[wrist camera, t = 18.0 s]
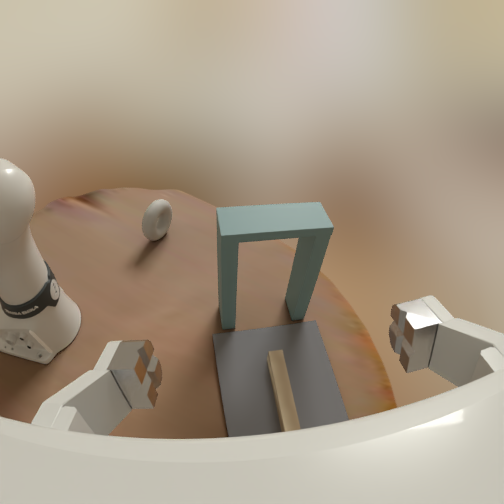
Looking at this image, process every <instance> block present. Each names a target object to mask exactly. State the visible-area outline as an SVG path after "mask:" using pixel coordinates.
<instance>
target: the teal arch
mask: <svg viewBox="0 0 504 504" xmlns="http://www.w3.org/2000/svg"><path fill="white" fill-rule="evenodd" d="M333 229H334V227H333V225H332V223H331V221H330V219H329V217H328V216H327V214H326V212H325V210H324V208H323V207H322V205H321V203H320V202H310V203H289V204H270V205H253V206H237V207H223V208H217V259H218V295H219V310H220V317H221V323H222V329H223V330H224V329H233V328H235V318H236V292H237V267H238V244H239V242H251V241H263V240H275V239H287V238H299V239H298V244H297V248H296V253H295V257H294V262H293V266H292V271H291V275H290V279H289V284H288V288H287V292H286V296H285V300H286V303H287V306H288V309H289V313H290V316H291V319H292V321H294V320H301V319H304V316H305V313H306V311H307V308H308V305H309V302H310V299H311V296H312V293H313V290H314V287H315V284H316V281H317V278H318V275H319V271H320V268H321V265H322V262H323V259H324V255H325V252H326V249H327V246H328V243H329V239H330V236H331V235H332V232H333Z"/></svg>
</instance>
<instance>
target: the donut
mask: <svg viewBox="0 0 504 504" xmlns="http://www.w3.org/2000/svg"><path fill="white" fill-rule="evenodd" d="M171 220H172V209H171V206H170V204H169V203H168V202H167V201H165V200H163V199H160V200H156V201H154V202H153V203H151V204H150V206H149V207H148V208H147V210H146V212H145V214H144V217H143V221H142V230H143V233H144V235H145V237H146V238H147V239H149V240H153V241H155V240H158V239H160V238H162V237H163V236H164V235H165V233H166V232H167V230H168V228H169V226H170V223H171Z"/></svg>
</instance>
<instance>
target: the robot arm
mask: <svg viewBox="0 0 504 504" xmlns="http://www.w3.org/2000/svg"><path fill="white" fill-rule="evenodd" d="M34 208H35V190H34V186H33V184H32V181H31V179H30V178H29V177H28V176H27V174H26V173H24V172H23V171H22V170H21V169H19V168H18V167H17V166H15V165H14V164H13V163H11V162H9V161H8V160H5V159H1V158H0V351H1V352H4V353H7V354H10V355H14V356H17V357H21V358H24V359H28V360H31V361H35V362H39V363H43V364H48V363H49V362H50V361H51V360H52V359H53V358H54V356H55V355H56V354H57V353H58V352H59V351H61V350H62V349H64V348H65V347H67V346H68V345H69V344H70V343H71V342H72V341H73V339H74V338H75V336H76V335H77V333H78V330H79V328H80V323H81V314H80V310H79V308H78V306H77V305H76V303H75V302H74V301H72V300H71V299H70V298H69V297H68V296H67V295H66V294H65V293H64V291H63V290H62V288H61V287H59V285H58V283H57V281H56V278H55V276H54V274H53V273H52V271H51V269H50V267H49V266H48V264H47V263H46V262H45V261H44V260H43V259H42V257H41V255H40V253H39V250H38V248H37V246H36V244H35V242H34V240H33V237H32V235H31V231H30V226H29V223H30V221H31V218H32V216H33V212H34ZM391 317H392V318H393V320H394V321H393V322H392V324H391V325H390V328H389V337H390V343H391V346H392V348H393V350H394V352H396V353H398V354H400V360H399V361H400V362H401V364H402V366H403V368H404V369H405V371H406V373H409V372H413V371H417V370H420V369H424V368H427V367H429V369H430V370H432V371H434V372H435V373H437V374H438V375H440V376H442V377H443V378H445V379H447V380H448V381H450V382H451V383H453V384H455V385H456V386H458V388H455V389H453V390H450V391H447V392H445V393H442V394H439V395H436V396H433V397H430V398H427V399H424V400H422V401H419V402H415V403H412V404H409V405H406V406H402V407H399V408H395V409H392V410H388V411H385V412H381V413H377V414H373V415H369V416H365V417H361V418H357V419H353V420H348V421H343V422H339V423H334V424H329V425H323V426H318V427H312V428H306V429H300V430H293V431H286V432H279V433H271V434H262V435H252V436H240V437H226V438H206V439H149V438H130V437H117V436H108V435H109V434H110V432H111V431H112V430H113V429H114V428H115V427H116V426H117V425H118V424H119V423H120V422H121V421H122V420H123V419H124V418H125V417H126V416H127V415H128V413H129V412H130V411H131V410H132V409H150V408H154V407H155V403H156V400H157V396H158V393H157V391H156V389H157V388H158V387H159V386H160V385H161V381H162V369H161V365H160V362H159V360H158V359H157V358H156V357H155V356H154V355H152V354H153V352H154V348H153V345H152V343H151V341H149V340H129V341H111V342H108V344H107V345H106V347H105V349H104V351H103V353H102V355H101V356H100V358H99V360H98V362H97V364H96V366H95V368H94V370H89V371H88V372H86V373H85V374H83V375H82V376H80V377H79V378H78V379H76V380H75V381H73V382H72V383H70V384H69V385H67V386H66V387H65V388H63V389H62V390H60V391H59V392H57V393H56V394H54V395H53V396H51V397H50V398H49V399H47V400H46V401H44V402H43V403H42V405H41V407H40V408H39V410H38V412H37V414H36V416H35V417H34V419H33V421H32V423H31V424H29V423H25V422H20V421H16V420H12V419H8V418H4V417H0V504H504V334H503V333H500V332H497V331H494V330H491V329H488V328H486V327H483V326H480V325H477V324H474V323H471V322H468V321H466V320H463V319H460V318H456V319H455V318H453V316H452V315H451V314H450V313H449V312H448V311H447V310H446V309H445V308H444V307H443V305H441V303H440V302H439V301H438V300H437V299H436V298H435V297H434V296H432V295H430V296H426V297H422V298H419V299H416V300H412V301H408V302H404V303H399V304H395V305H393V306H392V309H391ZM40 356H42V357H41V358H40Z"/></svg>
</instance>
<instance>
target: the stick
mask: <svg viewBox="0 0 504 504" xmlns="http://www.w3.org/2000/svg"><path fill="white" fill-rule="evenodd" d="M267 363H268V368H269V372H270V377H271V382H272V387H273V392H274V397H275V402H276V407H277V412H278V417H279V421H280V426H281V431H282V432H286V431H293V430H300V424H299V420H298V415H297V411H296V407H295V402H294V398H293V394H292V389H291V385H290V381H289V376H288V372H287V368H286V363H285V359H284V355H283V350H276V351H269V352H268V356H267Z"/></svg>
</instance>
